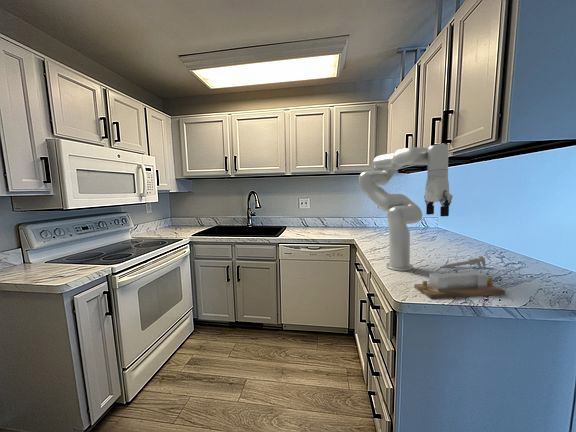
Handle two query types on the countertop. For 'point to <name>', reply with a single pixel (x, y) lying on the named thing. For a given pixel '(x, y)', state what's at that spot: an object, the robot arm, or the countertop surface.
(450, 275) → the light grey block
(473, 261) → the caliper
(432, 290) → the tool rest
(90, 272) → the countertop surface
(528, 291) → the countertop surface
